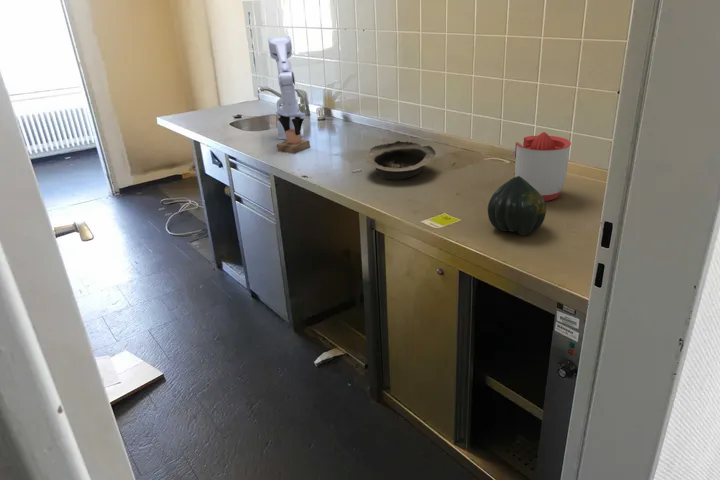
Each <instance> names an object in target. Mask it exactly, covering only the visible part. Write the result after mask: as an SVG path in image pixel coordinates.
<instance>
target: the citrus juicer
mask: <svg viewBox="0 0 720 480" xmlns="http://www.w3.org/2000/svg"><path fill="white" fill-rule="evenodd" d="M522 144H523V145H522ZM571 145H572V142H571V141H570V140H569V139H567V138H564V137H561V136H554V135H549V134H548V133H547V132H545V131H543V132H541V133H539V134H538V135H529V136H525V137H524V136H523V143H520V142H518V141H516V142H515V150H514V151H511V153H510V157H511V156H512V157H513V156H514V159H515V162H514V163H515V167H514V175H515V176H514V177H517V176H520V177H521V178H523V179H524V180H525V181H527V182H528V183H529V184H530V185H531V186H532V187H533V188H535V189H536V190H537V191H538V192H539V193H540V195H541V196H542V197H543V199H544V201H545V202H548V201H551V200H552V201H553V200H555V199H557V198H558V197H559V195H560V194H561V192H562V190H563V187H564V184H565V182H566V177H567V171H568V164H569V163H568V162H569V155H570V146H571Z"/></svg>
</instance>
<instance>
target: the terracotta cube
mask: <svg viewBox="0 0 720 480" xmlns="http://www.w3.org/2000/svg"><path fill="white" fill-rule="evenodd" d="M301 131H302V130H301ZM301 131H300V134H299V135H296V134H295V129H293V128H292V129H290V130H287V131H285V132H286V139H287V143H292V144H296V143H298V142H301V141H302V140H303V139H302V137H301V135H302V133H301Z"/></svg>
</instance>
